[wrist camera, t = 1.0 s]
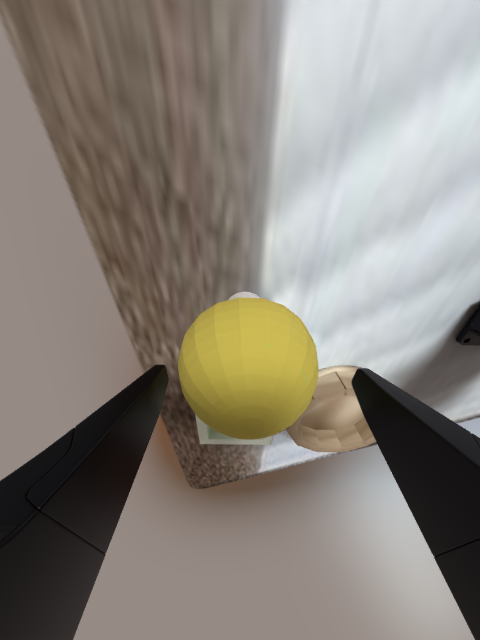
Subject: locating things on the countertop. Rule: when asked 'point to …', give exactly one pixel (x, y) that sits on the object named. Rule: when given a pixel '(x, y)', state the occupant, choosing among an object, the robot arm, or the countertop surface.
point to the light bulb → (248, 367)
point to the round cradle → (332, 415)
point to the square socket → (224, 436)
